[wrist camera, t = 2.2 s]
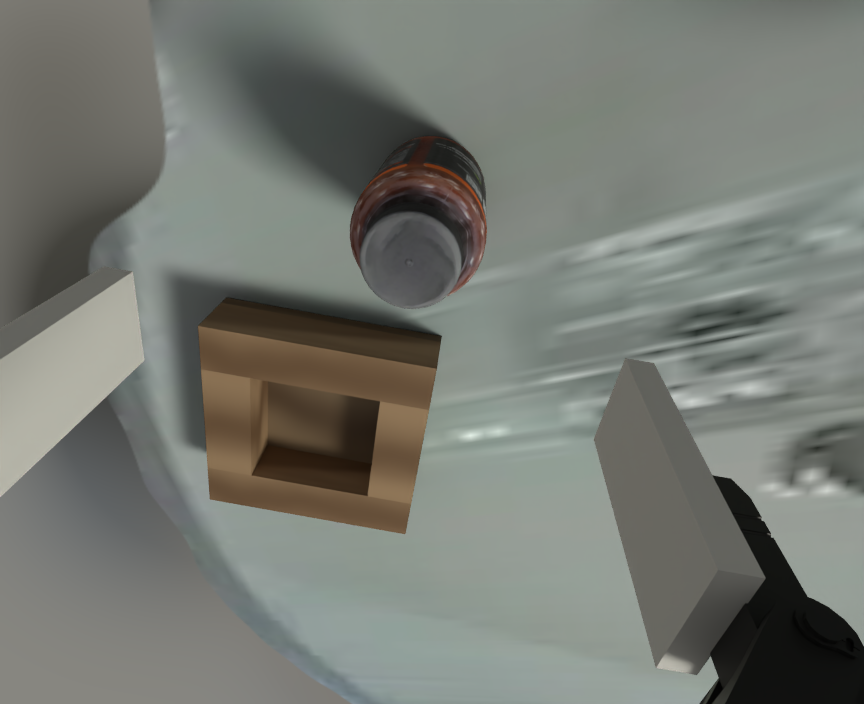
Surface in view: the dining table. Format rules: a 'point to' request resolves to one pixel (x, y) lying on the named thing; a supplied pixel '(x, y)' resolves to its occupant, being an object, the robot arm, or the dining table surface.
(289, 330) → the holder block
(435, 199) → the supplement bottle
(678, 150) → the dining table surface
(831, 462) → the dining table surface
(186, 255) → the dining table surface
